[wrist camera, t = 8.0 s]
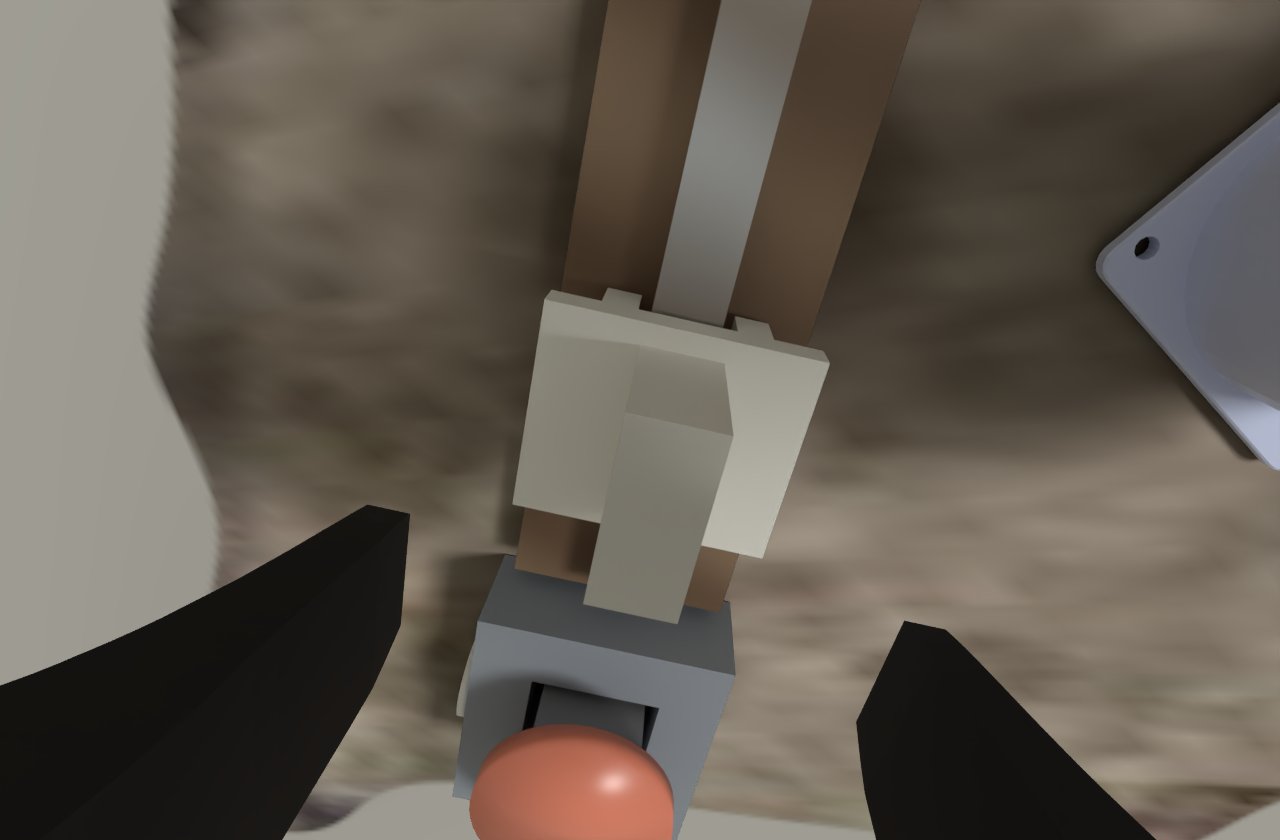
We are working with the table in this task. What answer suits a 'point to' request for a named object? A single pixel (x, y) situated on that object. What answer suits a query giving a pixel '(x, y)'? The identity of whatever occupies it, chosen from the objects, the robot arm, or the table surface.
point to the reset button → (574, 776)
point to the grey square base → (594, 672)
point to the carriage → (661, 439)
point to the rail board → (721, 182)
